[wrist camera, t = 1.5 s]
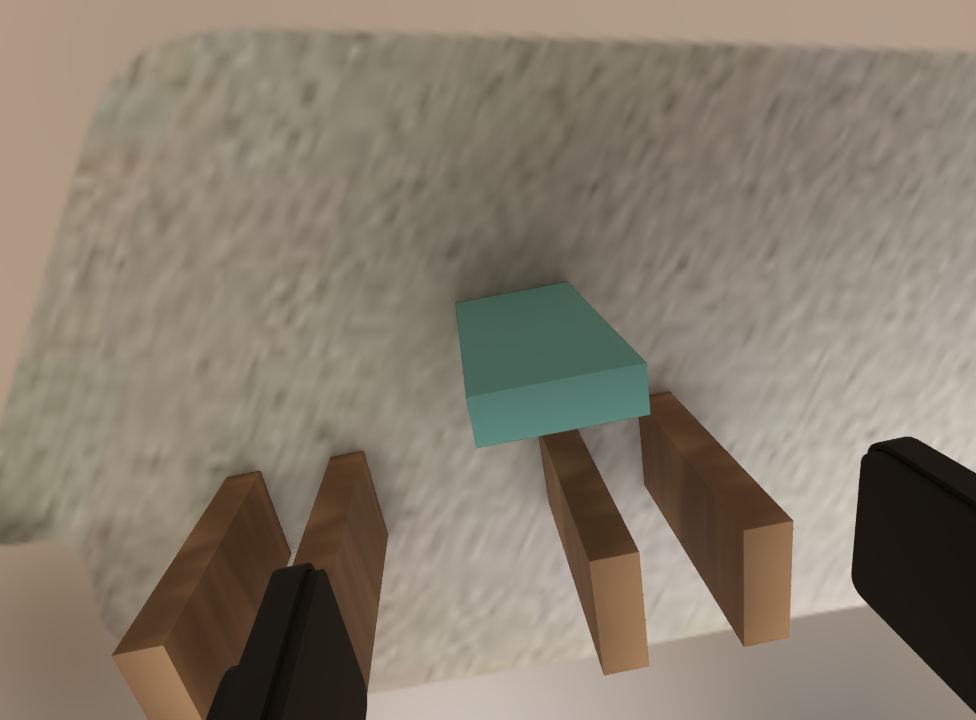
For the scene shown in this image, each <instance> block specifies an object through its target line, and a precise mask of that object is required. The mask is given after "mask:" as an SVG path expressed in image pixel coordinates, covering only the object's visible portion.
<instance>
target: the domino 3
mask: <svg viewBox="0 0 976 720" xmlns="http://www.w3.org/2000/svg"><path fill="white" fill-rule="evenodd" d="M456 311H457V320H458V329H459V338H460V347H461V356H462V365H463V374H464V383H465V392H466V399H467V404H468V409H469V414H470V419H471V423H472V428H473V433H474V438H475V443H476V448H481V447H486V446H491V445H496V444H501V443H506V442H511V441H517V440H522V439H527V438H532V437H537V436H542V435H548V434H553V433H558V432H563V431H568V430H573V429H578V428H584V427H589V426H594V425H599V424H604V423H609V422H615V421H620V420H625V419H630V418H635V417H640V416H645V415H650V402H649V388H648V374H647V363H646V361H645V360H644V359H643V358H642V357H641V356H640V355H639V354H638V353H637V352H636V351H635V350H634V349H633V348H632V347H631V346H630V345H629V344H628V343H627V342H626V341H625V340H624V339H623V338H622V337H621V336H620V335H619V334H618V333H617V332H616V331H615V330H614V329H613V328H612V327H611V326H610V325H609V324H608V323H607V322H606V321H605V320H604V319H603V318H602V317H601V316H600V315H599V314H598V313H597V312H596V311H595V310H594V309H593V308H592V307H591V306H590V305H589V304H588V303H587V302H586V301H585V300H584V299H583V298H582V297H581V295H580V294H579V293H578V292H577V291H576V290H575V289H574V288H573V287H572V286H571V285H570V284H569V283H568V282H565V283H559V284H554V285H549V286H543V287H538V288H533V289H528V290H522V291H517V292H512V293H506V294H501V295H496V296H491V297H485V298H480V299H475V300H469V301H464V302H459V303H456Z"/></svg>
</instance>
